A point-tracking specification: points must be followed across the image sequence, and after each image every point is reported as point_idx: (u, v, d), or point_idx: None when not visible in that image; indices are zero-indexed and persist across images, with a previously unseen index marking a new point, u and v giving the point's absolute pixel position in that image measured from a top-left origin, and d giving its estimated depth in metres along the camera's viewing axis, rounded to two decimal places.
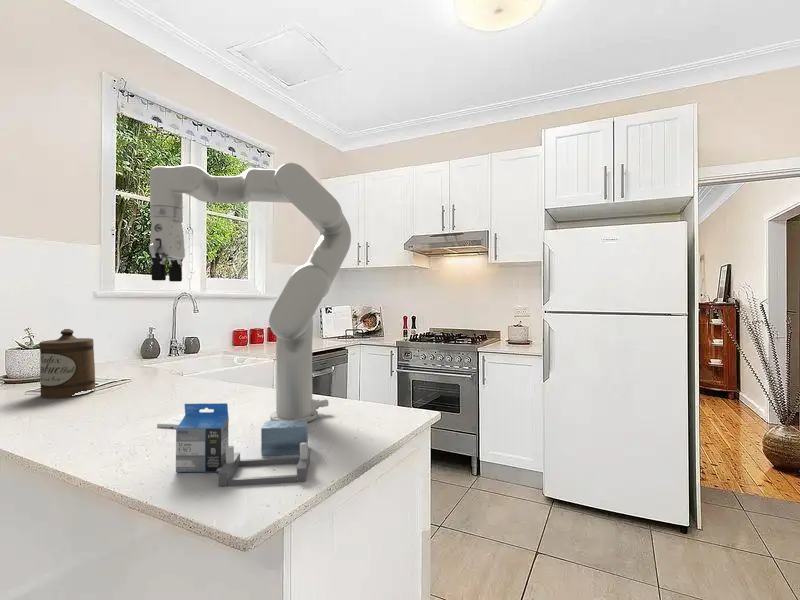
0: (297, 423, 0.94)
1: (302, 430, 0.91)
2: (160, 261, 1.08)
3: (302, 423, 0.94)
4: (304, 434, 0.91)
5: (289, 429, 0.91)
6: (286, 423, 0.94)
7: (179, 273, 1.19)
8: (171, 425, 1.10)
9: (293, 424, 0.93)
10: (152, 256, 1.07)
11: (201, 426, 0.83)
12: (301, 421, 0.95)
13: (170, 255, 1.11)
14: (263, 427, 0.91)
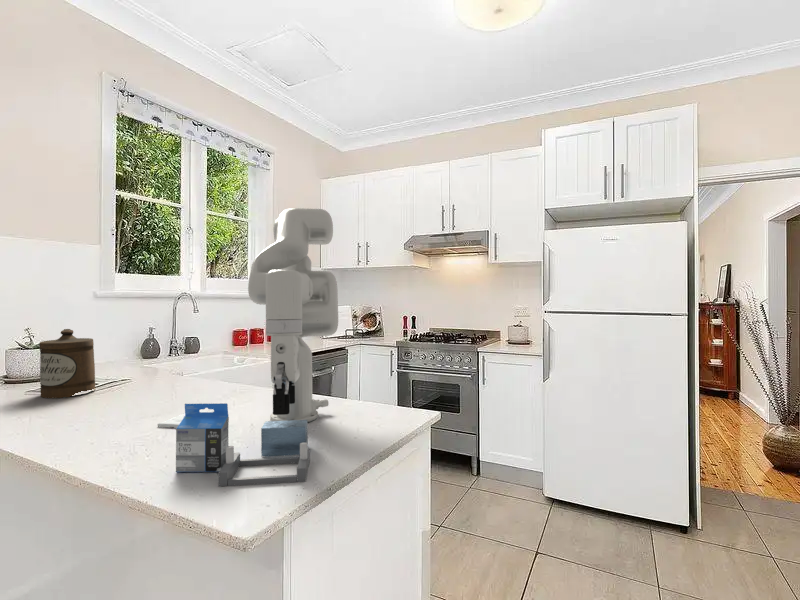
0: (297, 422, 0.94)
1: (302, 430, 0.91)
2: (285, 392, 0.87)
3: (302, 423, 0.94)
4: (304, 434, 0.91)
5: (289, 429, 0.91)
6: (286, 423, 0.94)
7: (292, 394, 0.97)
8: (172, 425, 1.10)
9: (293, 424, 0.93)
10: (277, 387, 0.85)
11: (201, 426, 0.83)
12: (301, 421, 0.95)
13: (294, 381, 0.89)
14: (263, 427, 0.91)
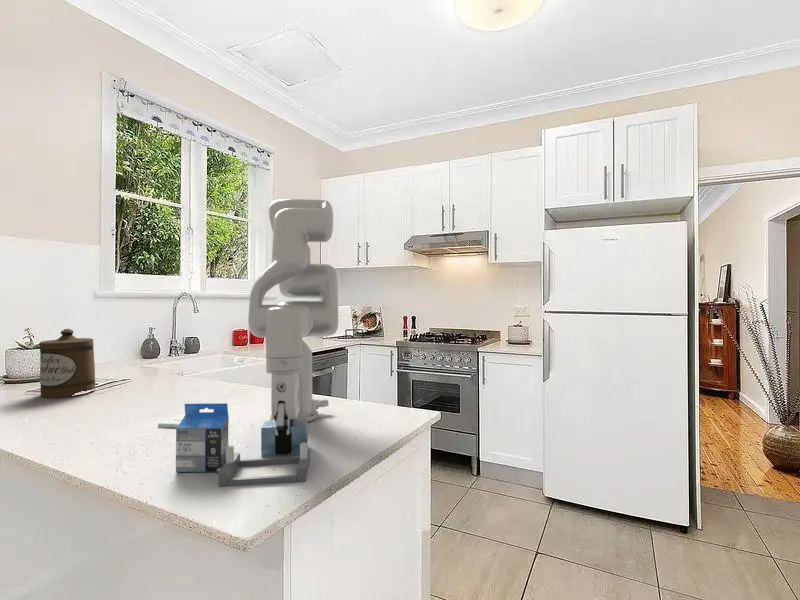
0: (297, 422, 0.94)
1: (302, 430, 0.91)
2: (287, 434, 0.89)
3: (302, 422, 0.94)
4: (304, 434, 0.91)
5: None
6: None
7: None
8: (172, 424, 1.10)
9: (293, 424, 0.93)
10: (280, 430, 0.88)
11: (201, 426, 0.83)
12: (301, 421, 0.95)
13: (295, 419, 0.90)
14: (263, 427, 0.91)
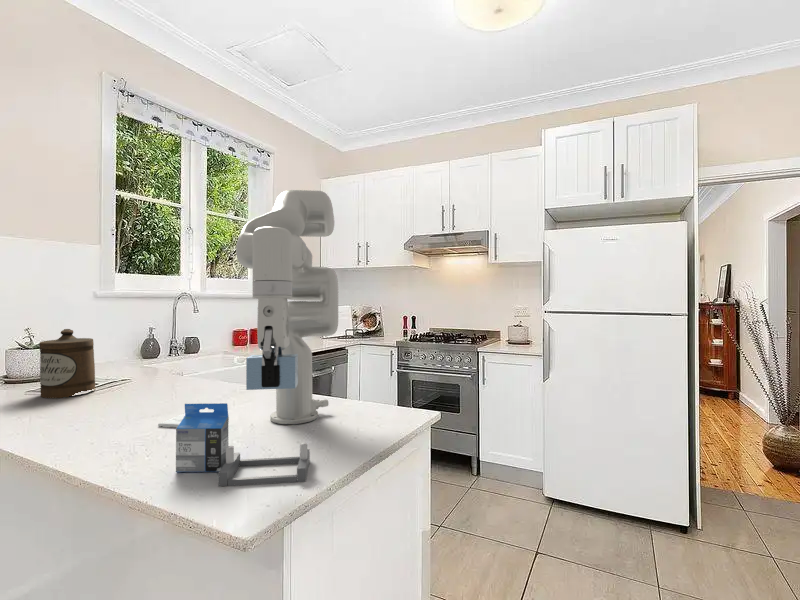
0: (286, 355, 0.86)
1: (291, 361, 0.83)
2: (275, 364, 0.81)
3: (292, 355, 0.86)
4: (294, 365, 0.83)
5: None
6: None
7: None
8: (172, 425, 1.10)
9: (282, 356, 0.85)
10: (266, 358, 0.80)
11: (201, 426, 0.83)
12: (291, 354, 0.87)
13: (283, 347, 0.81)
14: (248, 357, 0.83)
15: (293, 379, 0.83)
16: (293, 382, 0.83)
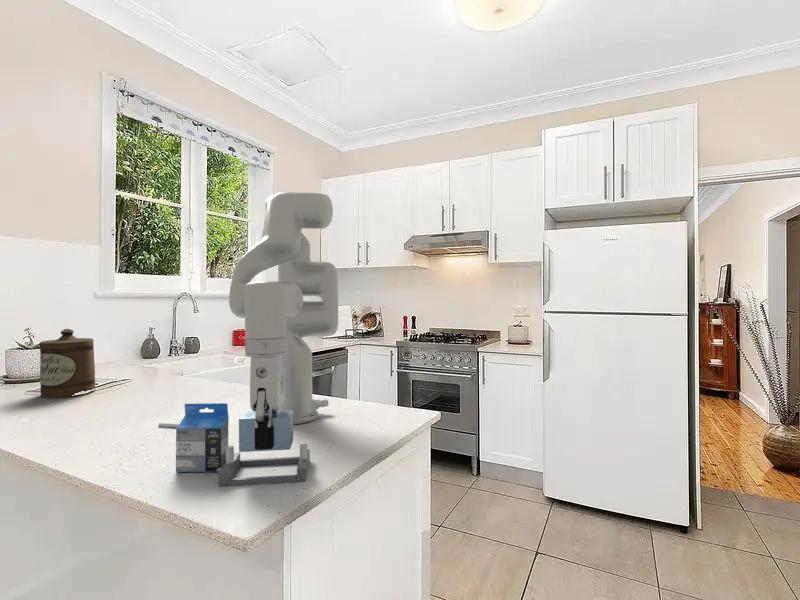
0: (280, 413, 0.83)
1: (286, 421, 0.80)
2: (268, 426, 0.78)
3: (286, 413, 0.83)
4: (288, 426, 0.80)
5: None
6: (267, 413, 0.82)
7: None
8: (173, 424, 1.10)
9: (276, 415, 0.81)
10: (259, 422, 0.77)
11: (201, 426, 0.83)
12: (285, 411, 0.84)
13: (277, 409, 0.78)
14: (241, 418, 0.80)
15: (288, 440, 0.80)
16: (288, 443, 0.80)
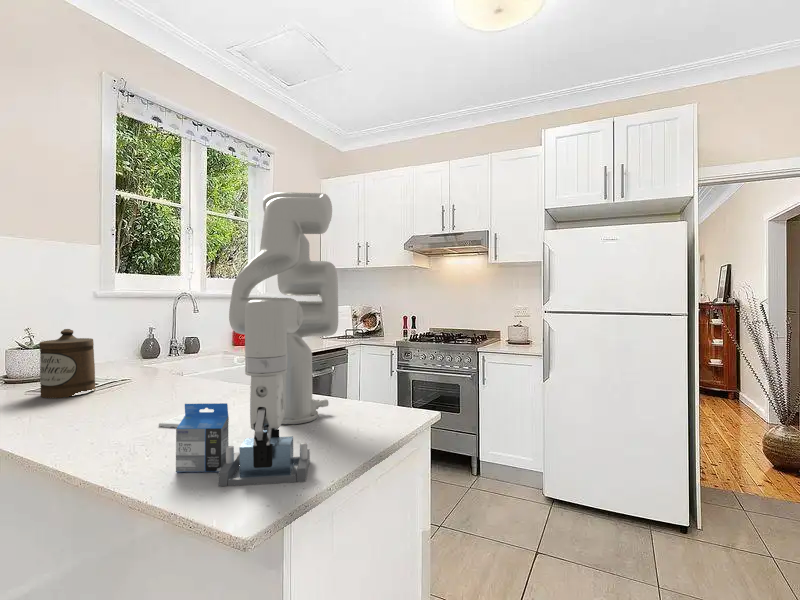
0: (281, 440, 0.83)
1: (286, 449, 0.80)
2: (267, 443, 0.77)
3: (287, 440, 0.83)
4: (289, 454, 0.80)
5: (272, 449, 0.80)
6: None
7: None
8: (173, 424, 1.10)
9: (276, 442, 0.82)
10: (258, 440, 0.75)
11: (201, 426, 0.83)
12: (286, 438, 0.84)
13: (277, 428, 0.78)
14: (242, 446, 0.80)
15: (288, 468, 0.80)
16: (288, 471, 0.80)
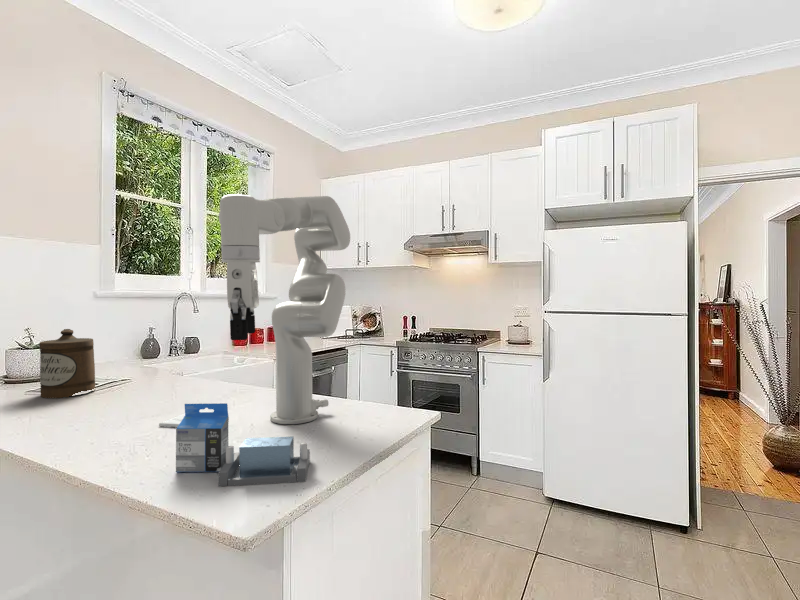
0: (281, 440, 0.83)
1: (286, 449, 0.80)
2: (242, 317, 0.86)
3: (287, 440, 0.83)
4: (288, 454, 0.80)
5: (271, 449, 0.80)
6: (268, 440, 0.83)
7: (252, 323, 0.97)
8: (173, 424, 1.10)
9: (276, 442, 0.82)
10: (234, 312, 0.85)
11: (201, 426, 0.83)
12: (286, 438, 0.84)
13: (252, 307, 0.89)
14: (242, 446, 0.80)
15: (288, 468, 0.80)
16: (288, 471, 0.80)
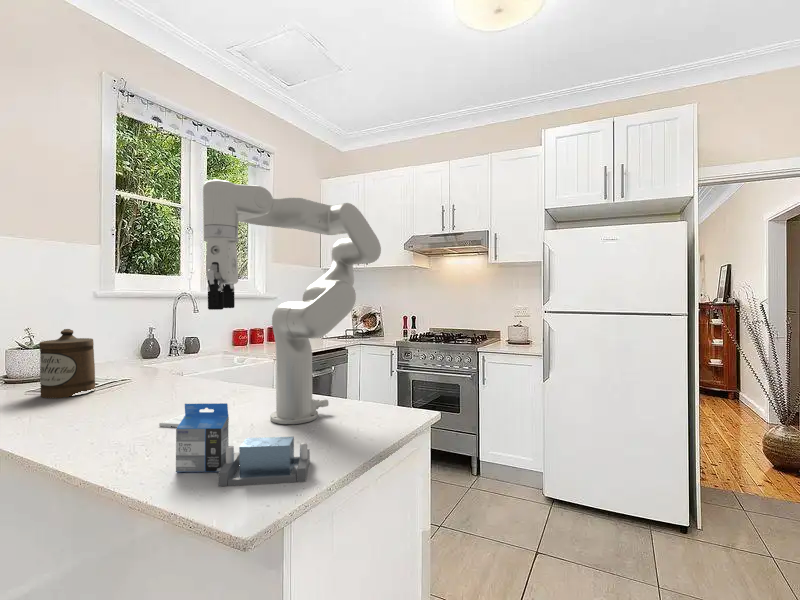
0: (281, 440, 0.83)
1: (285, 449, 0.80)
2: (218, 288, 0.96)
3: (287, 440, 0.83)
4: (288, 454, 0.80)
5: (271, 449, 0.80)
6: (268, 440, 0.83)
7: (232, 299, 1.06)
8: (173, 424, 1.10)
9: (276, 442, 0.82)
10: (210, 283, 0.94)
11: (201, 426, 0.83)
12: (286, 438, 0.84)
13: (228, 281, 0.98)
14: (242, 445, 0.80)
15: (287, 468, 0.80)
16: (287, 471, 0.80)
